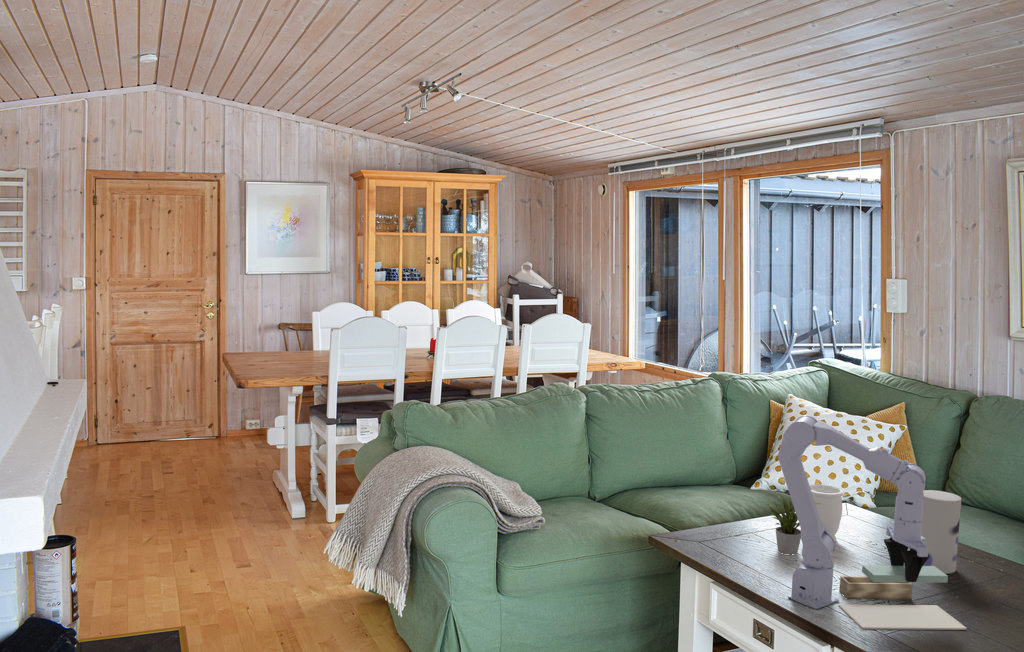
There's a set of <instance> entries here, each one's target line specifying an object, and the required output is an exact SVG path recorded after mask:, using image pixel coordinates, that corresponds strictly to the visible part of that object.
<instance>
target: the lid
mask: <svg viewBox="0 0 1024 652" xmlns="http://www.w3.org/2000/svg"><path fill="white" fill-rule="evenodd" d="M861 572H862V574H864V575H865V577H868V578H870V579H871V580H872V581H873V582H907V581H906V578H905V565H904V566H891V565H884V564H883V565H881V564H880V565H879V564H878V565H872V564H871V565H866V564H862V568H861ZM948 579H949V575H947V574H945V573H943V572H942V571H941V570H939V569H938V568H936V567H935V566H923V567H922V568H921V571H920V573H919V576H918V578H917V581H916V582H915V583H939V584H940V583H942V584H943V583H944V584H945V583H946V584H947V583H948V581H949V580H948Z"/></svg>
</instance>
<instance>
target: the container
mask: <svg viewBox="0 0 1024 652" xmlns="http://www.w3.org/2000/svg"><path fill="white" fill-rule="evenodd" d="M923 493H924V497H923V501H924V503H923V516H922V529H921V536H922V537H924V538H925V542H923V543H924V545H925V546H926V547H927V548H928V554H929V559H928V560H927V561H926V562H925V563H924V565H923V566H935V567H936V568H938V569H939V570H941V571H942V572H943V573H945V574H946V575H947V574H953V573H955V572H956V570H957V561H958V560H957V559H958V547H959V546H958V545H959V535H960V534H959V533H960V520H961V507H962V497H961V496H960V495H958V494H955V493H952V492H947V491H943V490H933V489H928V490H927V489H926V490H925V489H924V490H923Z"/></svg>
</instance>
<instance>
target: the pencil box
mask: <svg viewBox="0 0 1024 652" xmlns="http://www.w3.org/2000/svg"><path fill="white" fill-rule="evenodd" d="M913 585H914V583H913V582H873V581H872V580H871V579H870V578H868V577H867V576H851V575H850V576H846V575H845V576H840V578H839V593H840V594H841V595H842V594H843V595H844V596H843V595H842V596H843V597H844V598H847V599H846V600H850V599H856V600H857V599H858V601H859V600H860V601H861V599H866V600H867V601H871V600H870V599H874V601H875V600H877V601H881V600H882V601H885V600H886V601H887V600H888V601H912V597H913V589H914V588H913ZM866 600H865V601H866Z"/></svg>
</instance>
